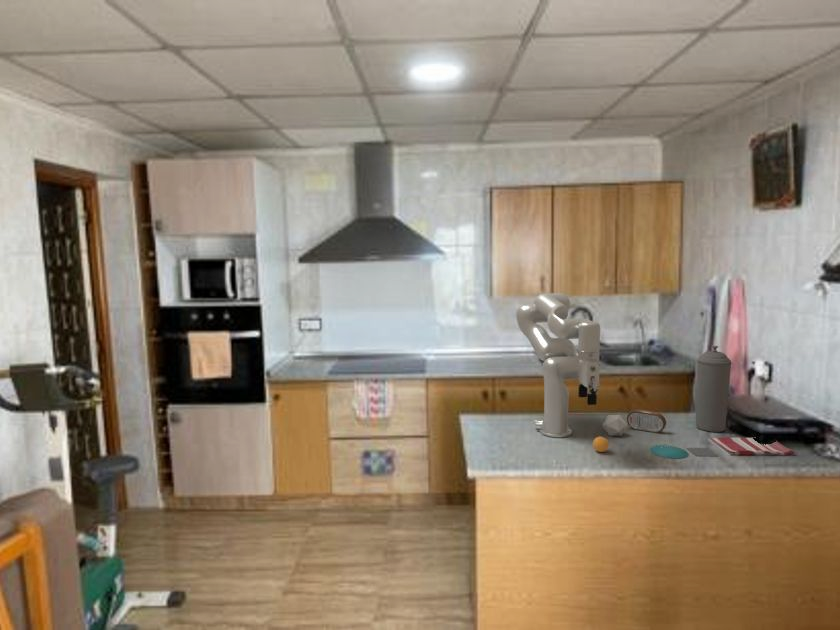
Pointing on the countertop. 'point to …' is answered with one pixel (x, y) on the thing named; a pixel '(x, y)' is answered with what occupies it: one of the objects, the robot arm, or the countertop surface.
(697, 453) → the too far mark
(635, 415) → the tin
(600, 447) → the ball
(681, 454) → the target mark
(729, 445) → the dish towel
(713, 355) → the canister
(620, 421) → the die
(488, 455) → the countertop surface
